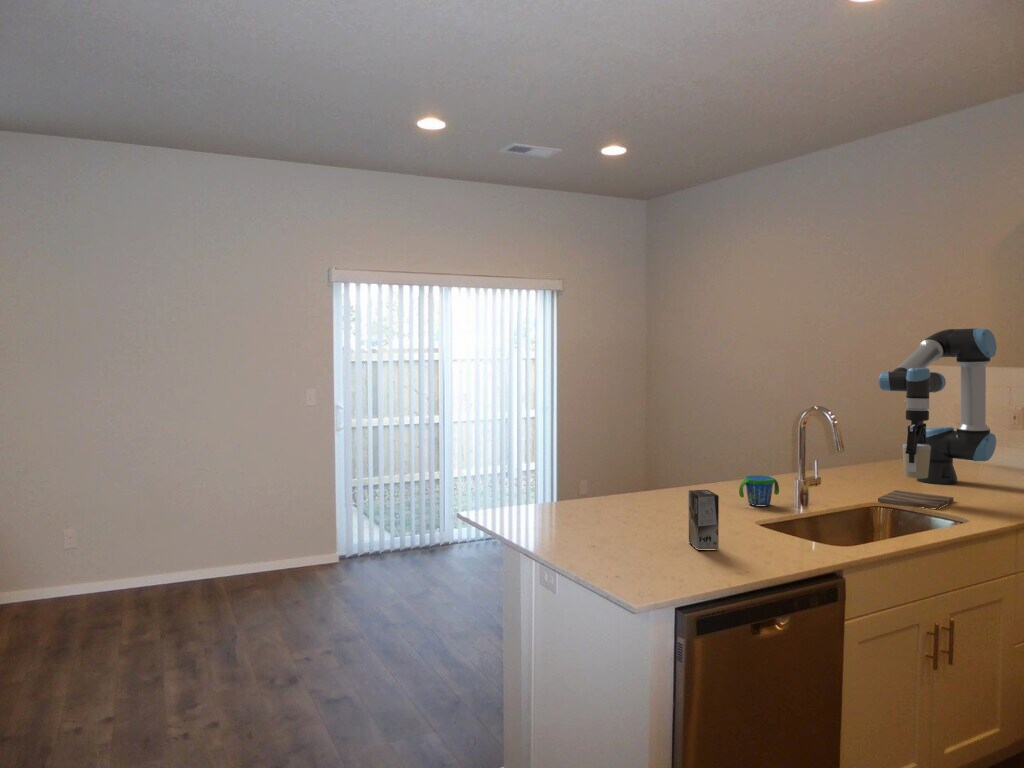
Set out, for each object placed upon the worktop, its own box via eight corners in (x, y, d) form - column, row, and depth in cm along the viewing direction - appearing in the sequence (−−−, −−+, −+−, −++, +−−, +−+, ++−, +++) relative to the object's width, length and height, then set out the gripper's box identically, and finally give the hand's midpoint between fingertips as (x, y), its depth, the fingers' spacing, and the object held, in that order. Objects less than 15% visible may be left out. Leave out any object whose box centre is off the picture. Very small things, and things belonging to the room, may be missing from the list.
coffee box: (719, 551, 209) (719, 495, 208) (697, 551, 208) (698, 496, 208) (708, 542, 218) (708, 489, 217) (687, 543, 217) (687, 489, 217)
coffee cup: (923, 474, 275) (924, 442, 275) (935, 479, 266) (935, 446, 265) (897, 474, 276) (898, 442, 275) (908, 478, 267) (908, 446, 266)
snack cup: (746, 509, 262) (746, 480, 261) (732, 502, 272) (732, 475, 272) (786, 507, 264) (786, 479, 264) (771, 501, 275) (771, 474, 274)
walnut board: (895, 493, 286) (895, 490, 286) (953, 501, 272) (953, 497, 271) (877, 502, 271) (877, 498, 271) (937, 510, 257) (938, 505, 257)
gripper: (915, 407, 280) (914, 465, 281) (896, 410, 265) (895, 472, 266) (937, 408, 275) (935, 467, 276) (919, 412, 259) (918, 474, 261)
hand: (916, 470), depth 271 cm, fingers closed on coffee cup, 9 cm apart
